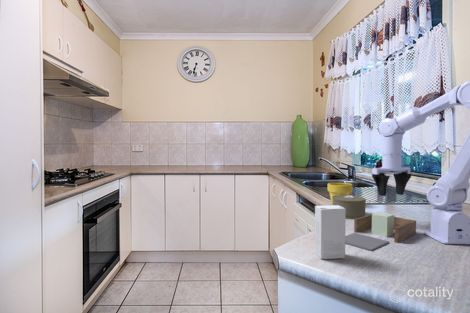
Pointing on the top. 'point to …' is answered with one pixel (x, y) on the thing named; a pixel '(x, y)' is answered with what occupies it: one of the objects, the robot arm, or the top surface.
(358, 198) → the can
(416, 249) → the top surface
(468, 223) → the robot arm
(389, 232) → the sage block
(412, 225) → the walnut u-shaped frame
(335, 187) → the plant pot
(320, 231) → the skincare box
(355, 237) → the charcoal mat
